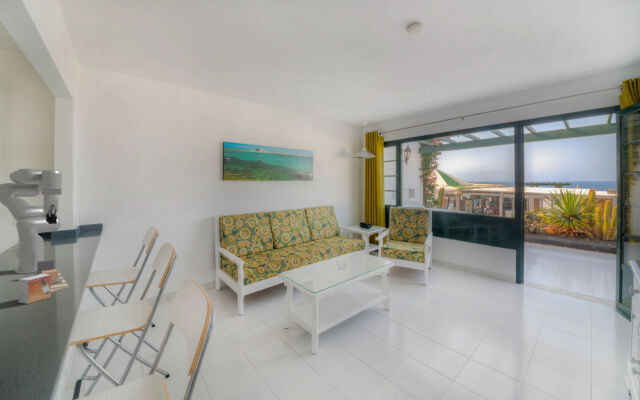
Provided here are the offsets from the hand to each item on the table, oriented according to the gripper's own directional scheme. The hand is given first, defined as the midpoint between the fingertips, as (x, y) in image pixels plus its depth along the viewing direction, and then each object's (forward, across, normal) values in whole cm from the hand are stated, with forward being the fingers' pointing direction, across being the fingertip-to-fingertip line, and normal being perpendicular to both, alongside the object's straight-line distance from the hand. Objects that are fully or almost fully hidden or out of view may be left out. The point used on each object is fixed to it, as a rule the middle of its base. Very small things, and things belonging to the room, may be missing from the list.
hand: (51, 222), depth 137 cm
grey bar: (+29, +10, -2) cm, 31 cm away
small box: (+31, +36, -8) cm, 48 cm away
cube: (+28, +16, -2) cm, 33 cm away
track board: (+30, +14, -2) cm, 33 cm away
